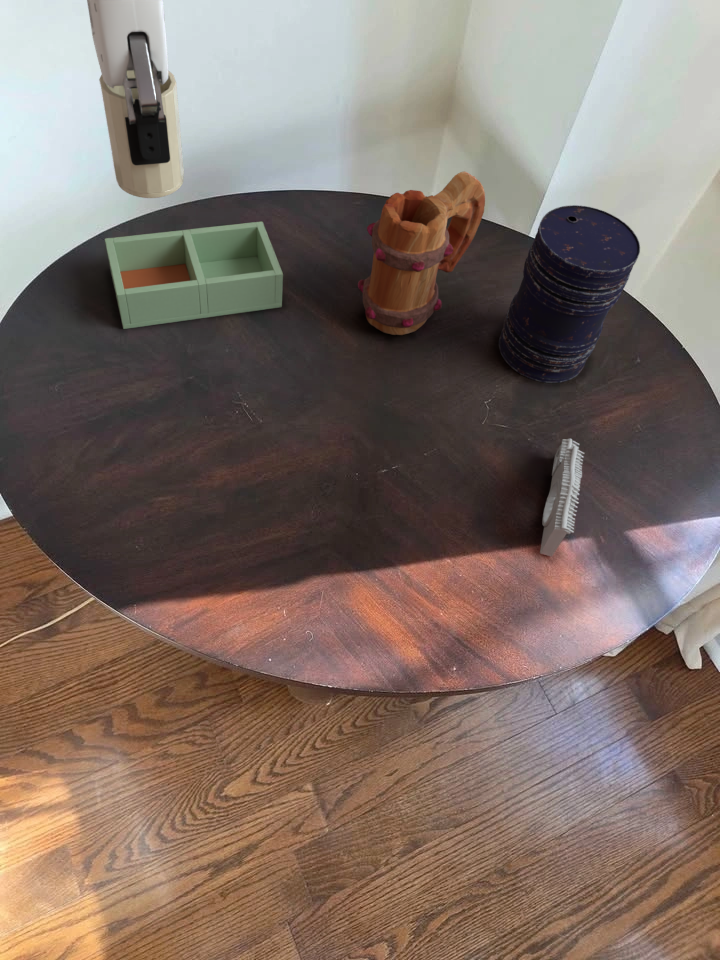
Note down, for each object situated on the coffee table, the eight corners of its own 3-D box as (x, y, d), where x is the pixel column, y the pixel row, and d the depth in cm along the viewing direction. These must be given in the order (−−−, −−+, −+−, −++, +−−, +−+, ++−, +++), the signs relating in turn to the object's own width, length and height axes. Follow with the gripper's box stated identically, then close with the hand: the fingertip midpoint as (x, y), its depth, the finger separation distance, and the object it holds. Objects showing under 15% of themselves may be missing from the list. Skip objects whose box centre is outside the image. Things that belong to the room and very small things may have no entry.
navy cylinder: (604, 370, 84) (662, 259, 72) (529, 394, 81) (578, 282, 69) (553, 309, 89) (600, 196, 77) (480, 330, 86) (518, 215, 74)
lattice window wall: (552, 455, 77) (572, 417, 72) (570, 460, 76) (591, 422, 72) (535, 556, 70) (556, 521, 65) (555, 561, 70) (577, 527, 65)
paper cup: (121, 201, 68) (105, 102, 61) (111, 161, 72) (95, 63, 64) (189, 194, 70) (181, 98, 63) (177, 156, 73) (168, 59, 66)
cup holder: (123, 329, 80) (116, 295, 76) (111, 273, 85) (104, 238, 81) (281, 307, 84) (283, 273, 81) (262, 255, 89) (262, 221, 85)
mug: (388, 358, 82) (411, 240, 70) (338, 313, 85) (352, 193, 73) (482, 304, 88) (519, 188, 76) (432, 264, 91) (460, 146, 79)
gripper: (43, -154, 57) (87, 89, 71) (70, -49, 48) (114, 204, 62) (148, -152, 59) (170, 84, 73) (193, -51, 50) (207, 195, 64)
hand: (144, 137), depth 68 cm, fingers closed on paper cup, 6 cm apart
